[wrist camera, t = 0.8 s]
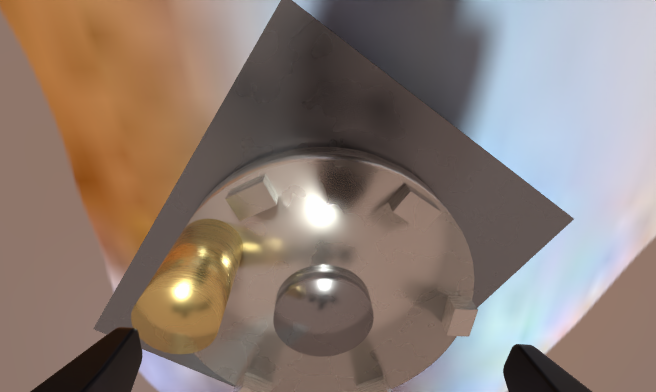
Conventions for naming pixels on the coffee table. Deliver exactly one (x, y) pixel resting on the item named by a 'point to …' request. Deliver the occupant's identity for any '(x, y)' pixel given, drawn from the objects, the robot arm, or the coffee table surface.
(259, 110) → the base plate
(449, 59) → the coffee table surface
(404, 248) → the silver round platform
